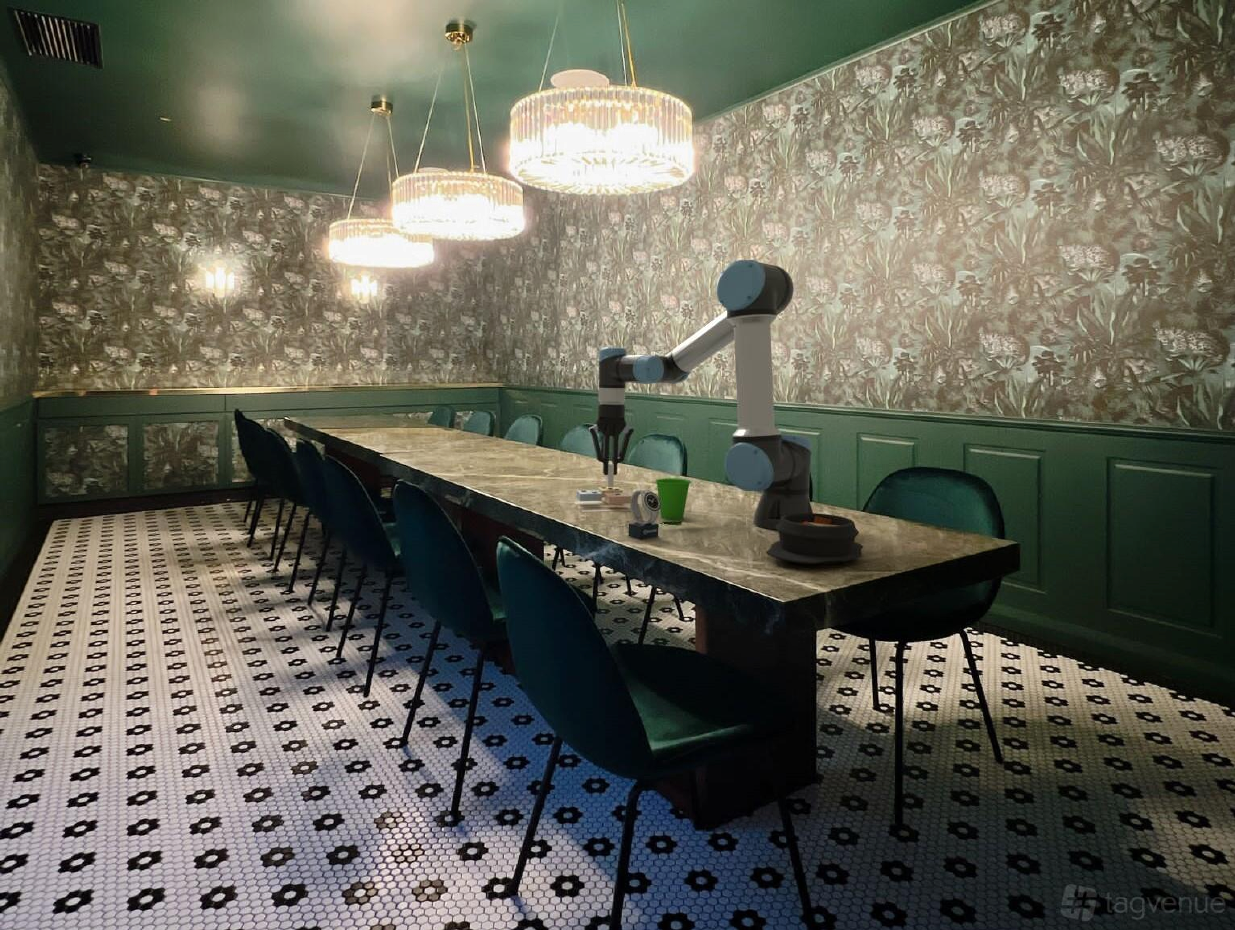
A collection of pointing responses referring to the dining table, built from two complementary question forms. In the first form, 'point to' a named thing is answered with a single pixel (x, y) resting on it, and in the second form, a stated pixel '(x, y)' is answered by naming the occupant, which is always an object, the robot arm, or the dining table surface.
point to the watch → (641, 527)
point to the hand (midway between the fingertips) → (609, 486)
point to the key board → (600, 506)
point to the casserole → (816, 539)
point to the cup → (672, 498)
